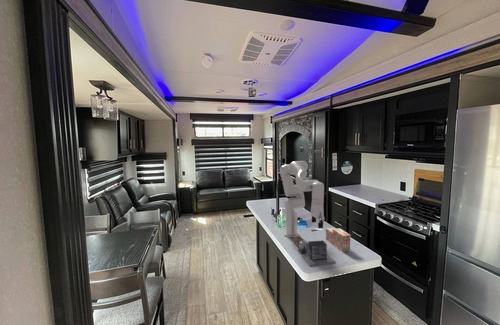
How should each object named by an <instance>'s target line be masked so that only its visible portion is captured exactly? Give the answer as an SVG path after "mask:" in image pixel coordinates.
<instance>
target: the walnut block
mask: <svg viewBox="0 0 500 325" xmlns="http://www.w3.org/2000/svg"><path fill="white" fill-rule="evenodd" d="M293 239H294V245H295V246H296V247H299V241H304V238H302V237H301V236H298V237H293Z"/></svg>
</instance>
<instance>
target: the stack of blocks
mask: <svg viewBox="0 0 500 325" xmlns="http://www.w3.org/2000/svg"><path fill="white" fill-rule="evenodd" d="M325 240H326V241H328V242H329V243H330V244H332V245H333V246H334V247H335V248H337V249H338V250H339V251H340V252H342V253H344V252H345V253H347V252H350V251H351V234H350V233H348V232H346V231H345V230H344V229H342V228H334V227H327V228H325Z"/></svg>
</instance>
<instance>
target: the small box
mask: <svg viewBox="0 0 500 325" xmlns="http://www.w3.org/2000/svg"><path fill="white" fill-rule="evenodd" d="M327 246H328V244H327V243H326V242H325V241H324V240H314V241H313V240H312V241H310V240H309V241H308V254H309V257H310V259H311V260H324V259H327V254H328V253H327V252H328V250H327Z"/></svg>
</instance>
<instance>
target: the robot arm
mask: <svg viewBox="0 0 500 325" xmlns="http://www.w3.org/2000/svg"><path fill="white" fill-rule="evenodd" d="M308 169H309V165H308V163H307V162H306V161H305V160H295V161H292V162H290V164H289V163H288V164H284V165H281V166H280V168H279V173H280V174H279V175H280V177H281V180H282V184H283V186H282V187H283V191H284V195H285V196H286V197H289V198H285V200H284V203H283V205H284V208H285V209H284V211H285V231H284V232H283V235H284V236H285V237H287V238H294V237H300V232H298V214H297V212H296V211H295V210H300V209H303V208H305V206H306V200H305V194H304V193H305V192H311V205H310V215H311V223H313V224H314V223H316V222H317V220H318V223H317V226H318V227H317V228H318V229H323V228H324V222H325V215H324V213H325V212H324V210H325V209H324V201H325V200H324V197H325V185H324V183H323V182H321V181H319V180H318V179H305V178H306V177H307V176H308V171H307V170H308ZM291 175H294V176H295V184H294V180H293V178H292V177H291ZM304 179H305V180H304Z"/></svg>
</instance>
